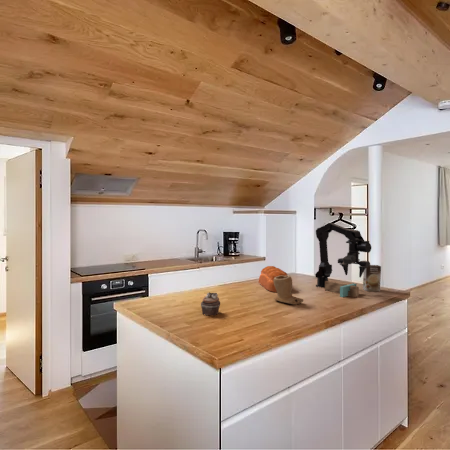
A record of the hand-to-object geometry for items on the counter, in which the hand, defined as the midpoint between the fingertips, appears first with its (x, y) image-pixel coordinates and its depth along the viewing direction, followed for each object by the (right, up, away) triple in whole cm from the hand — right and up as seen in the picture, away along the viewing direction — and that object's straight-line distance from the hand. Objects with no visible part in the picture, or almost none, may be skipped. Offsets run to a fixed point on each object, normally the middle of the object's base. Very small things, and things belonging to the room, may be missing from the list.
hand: (353, 276), depth 213 cm
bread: (-46, -10, +19) cm, 51 cm away
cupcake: (-86, -12, -41) cm, 96 cm away
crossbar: (-4, -11, -3) cm, 12 cm away
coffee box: (+16, -11, +11) cm, 22 cm away
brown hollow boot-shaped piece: (-45, -12, -21) cm, 51 cm away
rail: (-7, -11, +1) cm, 13 cm away
